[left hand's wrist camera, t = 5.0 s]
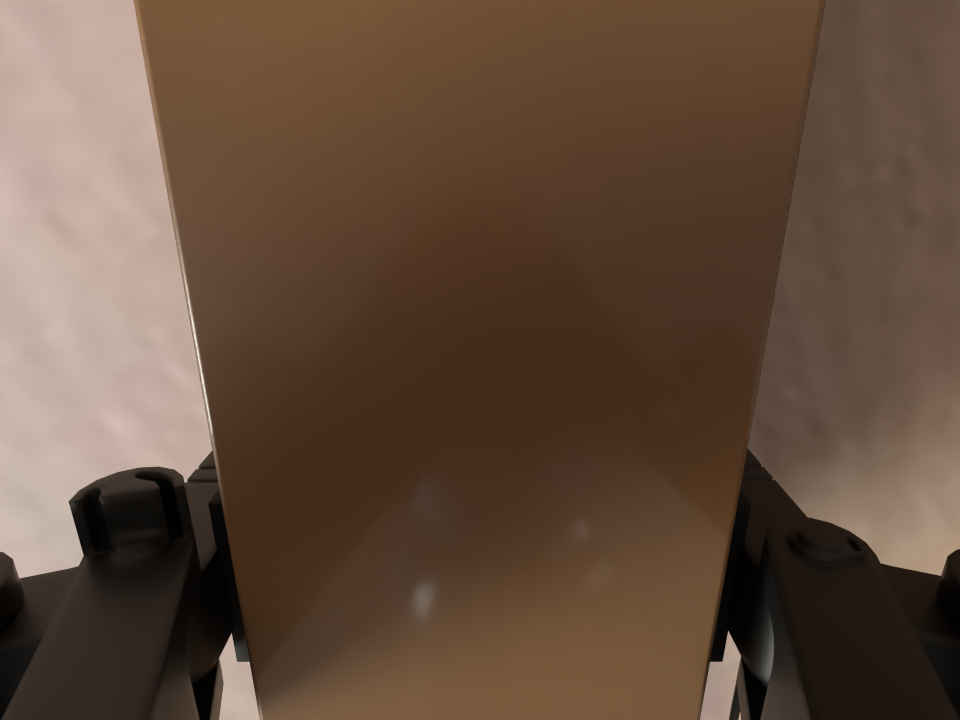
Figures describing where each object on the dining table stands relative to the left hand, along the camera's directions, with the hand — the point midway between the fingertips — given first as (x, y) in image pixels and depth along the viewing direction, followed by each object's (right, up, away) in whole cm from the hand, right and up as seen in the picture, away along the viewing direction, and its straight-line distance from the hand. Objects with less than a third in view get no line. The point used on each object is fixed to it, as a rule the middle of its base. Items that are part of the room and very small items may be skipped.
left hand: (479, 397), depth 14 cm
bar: (0, +20, -7) cm, 21 cm away
